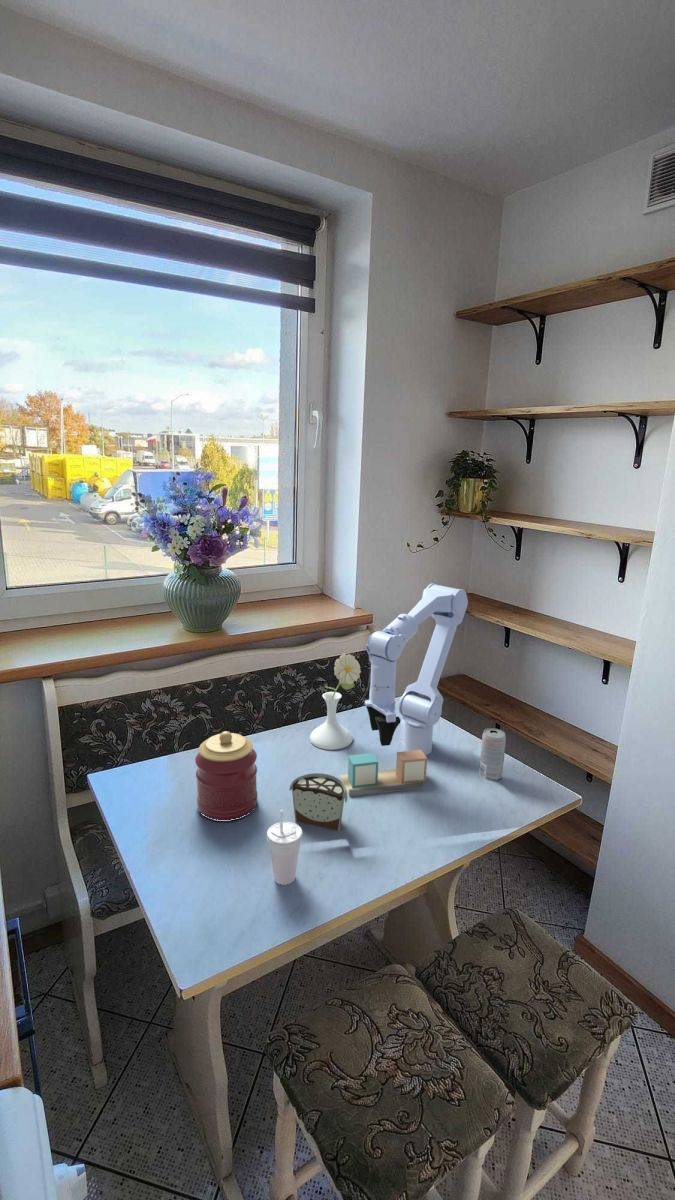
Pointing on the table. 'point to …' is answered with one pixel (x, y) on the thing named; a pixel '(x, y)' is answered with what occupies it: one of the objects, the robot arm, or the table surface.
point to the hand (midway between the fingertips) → (380, 737)
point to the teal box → (363, 770)
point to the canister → (226, 776)
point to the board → (381, 784)
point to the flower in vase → (331, 731)
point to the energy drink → (492, 754)
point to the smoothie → (284, 849)
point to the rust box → (411, 766)
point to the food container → (319, 800)
